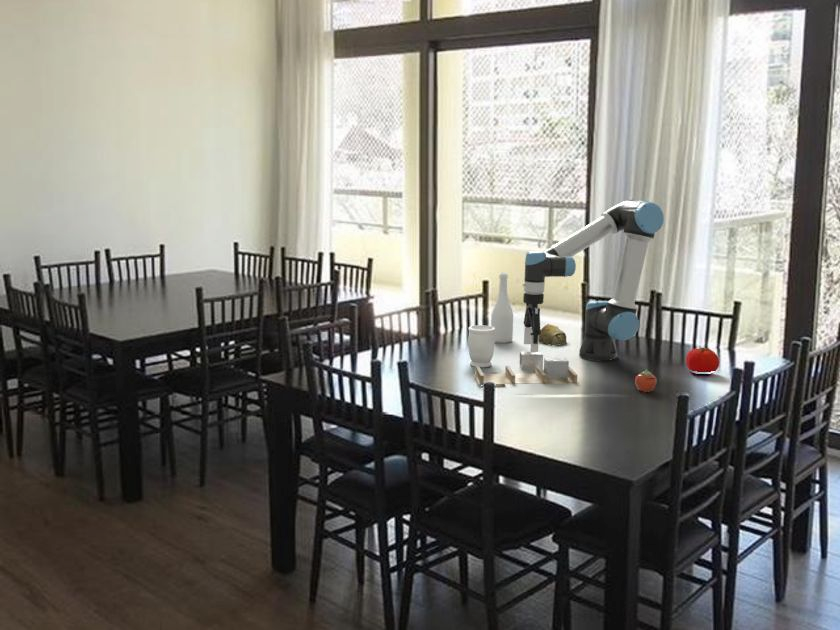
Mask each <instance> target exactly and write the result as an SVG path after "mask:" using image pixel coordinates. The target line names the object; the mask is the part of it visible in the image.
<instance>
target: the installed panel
mask: <svg viewBox="0 0 840 630" xmlns="http://www.w3.org/2000/svg"><path fill="white" fill-rule="evenodd" d="M569 362H570V361H569V360H568V359H567V357H560V358H559V357H557V358H556V357H553V358H552V357H550V358H549V357H548V358H544V357H543V372H544V373H545V374H546V380H568V368H569V367H570V366H569V365H570V364H569Z"/></svg>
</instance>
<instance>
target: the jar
mask: <svg viewBox="0 0 840 630" xmlns="http://www.w3.org/2000/svg"><path fill="white" fill-rule="evenodd" d="M468 331H469V333H468V338H467V346H468V347H467V348H468V354H469V355H468V356H469V359H470V360H471V362H470V366H472V367H474V368H476V366H479V367H480V368H489V367H491V366H492V362H491V361H492V359H493V356H494V351H495V346H496V342H495V337H494V331H495V328H494V327H492V326H491V325H484V324H483V325H481V324H480V325H479V324H478V325H477V324H476V325H471V326H469V327H468Z"/></svg>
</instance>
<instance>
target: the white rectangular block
mask: <svg viewBox="0 0 840 630" xmlns="http://www.w3.org/2000/svg"><path fill="white" fill-rule="evenodd" d="M535 366H539V367H540V368H541V369H542V370H543V371H544V354H543V353H542V352H541V351H538V352H530V351H520V352H519V368H520V371H521V370H522V371H529V370H530V371H531V370H532V371H535Z"/></svg>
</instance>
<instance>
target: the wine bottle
mask: <svg viewBox="0 0 840 630" xmlns="http://www.w3.org/2000/svg"><path fill="white" fill-rule="evenodd" d="M498 278H499V285H498V287H499V288H498V293H497V294H498V295H497V297H496V300H495V303H494V306H493V309H492V310H491V311H492V312H491V315H490V316H491V317H490V319H491V320H490V324H491V325H490V326H492V327H494V328H495V331H494V337H495V343H498V344H508V343H512V341H513V337H514V336H513V335H514V334H513V333H514V313H513V308H512V306H511V302H510V299H509V296H508V295H509V294H508V278H509V274H508V273H506V272H500V273H499V275H498Z"/></svg>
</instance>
